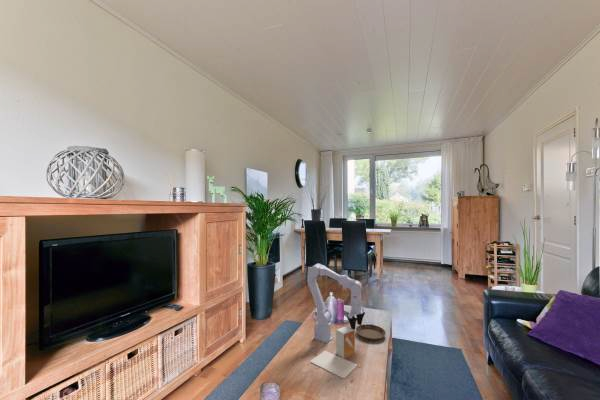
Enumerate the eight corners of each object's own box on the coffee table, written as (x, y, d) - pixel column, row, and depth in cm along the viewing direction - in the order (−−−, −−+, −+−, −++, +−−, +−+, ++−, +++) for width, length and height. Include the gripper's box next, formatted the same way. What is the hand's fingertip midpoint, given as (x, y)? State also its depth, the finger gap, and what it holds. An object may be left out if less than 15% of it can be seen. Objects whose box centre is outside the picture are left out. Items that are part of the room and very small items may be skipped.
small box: (343, 359, 138) (343, 334, 138) (335, 353, 143) (335, 329, 143) (355, 354, 142) (355, 330, 142) (346, 349, 147) (346, 325, 148)
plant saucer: (389, 343, 154) (389, 337, 154) (359, 343, 154) (359, 337, 154) (380, 328, 172) (380, 324, 172) (353, 328, 172) (353, 324, 172)
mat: (310, 362, 135) (310, 361, 135) (324, 351, 145) (324, 350, 145) (343, 378, 122) (343, 378, 122) (357, 365, 132) (357, 365, 132)
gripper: (356, 308, 144) (356, 333, 144) (368, 301, 155) (368, 324, 155) (344, 305, 148) (345, 329, 148) (357, 298, 159) (357, 321, 159)
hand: (356, 326), depth 152 cm, fingers open, 7 cm apart
